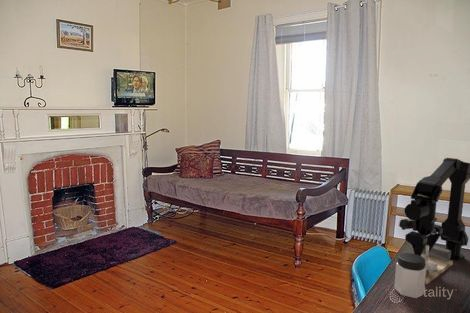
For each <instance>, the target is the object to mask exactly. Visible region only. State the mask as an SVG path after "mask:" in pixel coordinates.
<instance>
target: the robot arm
mask: <svg viewBox="0 0 470 313" xmlns="http://www.w3.org/2000/svg"><path fill="white" fill-rule="evenodd" d="M447 180H449V183H450V184H451V185H450V193H449V203H448V212H447V218H446V219H445V220H444V221H442V222H441V225H440V224H436V222H437V221H438V217H436V213H437V212H436V211H437V202H439V198H440V196H441V194H442V193H443V184H444V183H445V182H447ZM469 181H470V162H465V161H463V160H461V159H459V158H455V157H454V158H453V157H452V158H451V157H445V158H444V159H443V160H442V163H440V165H439V166H438V167H437V168H436V169H435V170H434V171H433V173H432V174H431V175H429V176H424V177H423V178H421V179H420V180H419V181H418V182H416V184H415V187H414V189H413V191H412V194H411V196H410V199H411V200H410V203H408V204H407V205H406V206H405V208H404V214H405V216H406V218H402V219H400V220H399V224H398V226H399V228H401V230H402V231H404V230H409V229H410V230H411V231H410V232H408V233H406V234H405V237H404V240H405V241H406V242H407V243H410V245H411V246H412V250H413V254H416V255H419V256H421V255H422V253H423V251H424V249H425V247H426V245H429V252H430V251H431V249H432V248H433V246H436V245H435V244H436V243H437V241H438V240H439V239H440V240H441V241H445V245H444V247H445V248H444V249H448V250H451V256H450V259H453V260H457V261H460V260H461V259H462V258H464V254H462V248H463V247H464V246H468V242H469V236H468V234H467V232H466V225H465V222H464V221H463V220H462V215H463V207H464V198H465V191H466V190H465V189H466V184H467V183H468V182H469Z"/></svg>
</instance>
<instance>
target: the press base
mask: <svg viewBox="0 0 470 313" xmlns="http://www.w3.org/2000/svg"><path fill="white" fill-rule="evenodd" d="M450 256H451V250H448V249H445V248H443V247H441V246H440V247H439V246H437V245H434V246H433V248H432V249H431V251H430V252H429V255H428V261H430V262H433V263H436V264H438V266H437V270H435V271H434V272H433V273H431V274H430V275H429V276H428V275H427V270H426V277H425V285H428V284H430V283H431V282H432V281H433V280H435V279H436V278H437V277H439V276H440V275H441V274H442V273H444V272H445V271H446V270H447V269H448V268H450V267H451V266H453V264H454V261H453V260H451V258H450Z"/></svg>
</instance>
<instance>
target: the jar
mask: <svg viewBox="0 0 470 313" xmlns="http://www.w3.org/2000/svg"><path fill="white" fill-rule="evenodd" d="M394 275H395V277H394V289H395V290H396V291H397V292H398V293H399V294H400V296H404V297H409V298H414V299H417V298H420V297H421V296H423V295H424V294H425V285H426V283H425V277H426V268H425V259H424V258H423V257H421V256H419V255H416V254H414V253H413V252H401V253H399V254H398V256H397V262H396V263H395V274H394Z"/></svg>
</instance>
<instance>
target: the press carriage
mask: <svg viewBox="0 0 470 313" xmlns="http://www.w3.org/2000/svg"><path fill="white" fill-rule="evenodd" d="M428 255H429V245H426V247H425V249H424V251H423V253H422V255H421V257H423V258H424V259H425V268H426V270H427V275H428V276H429V275H430V274H431V273H433V272H434V271H435V270H437V266H438V264H436V263H433V262H430V261H428Z"/></svg>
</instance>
